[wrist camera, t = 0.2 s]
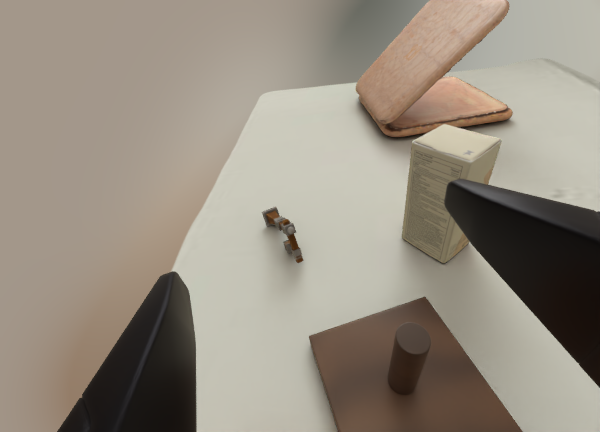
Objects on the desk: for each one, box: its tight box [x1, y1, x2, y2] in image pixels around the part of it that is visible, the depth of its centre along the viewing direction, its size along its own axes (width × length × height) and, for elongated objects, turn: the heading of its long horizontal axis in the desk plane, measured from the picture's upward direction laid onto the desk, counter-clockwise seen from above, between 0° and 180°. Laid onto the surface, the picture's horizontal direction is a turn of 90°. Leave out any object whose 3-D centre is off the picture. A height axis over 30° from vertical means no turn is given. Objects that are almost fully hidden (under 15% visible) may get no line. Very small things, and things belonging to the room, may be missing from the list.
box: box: [402, 124, 502, 263], centre depth 26 cm, size 5×4×11 cm
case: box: [356, 0, 512, 137], centre depth 47 cm, size 20×21×16 cm
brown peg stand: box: [309, 297, 523, 432], centre depth 18 cm, size 10×10×7 cm
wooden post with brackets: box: [262, 207, 303, 263], centre depth 31 cm, size 2×8×4 cm, turn 26°
